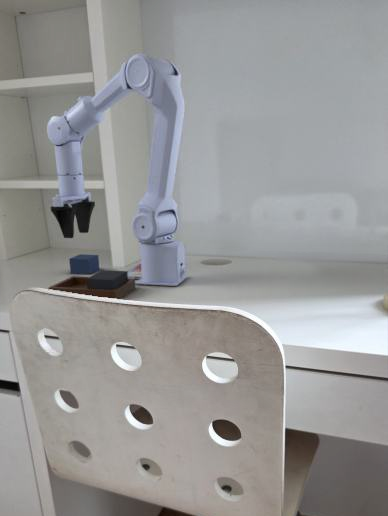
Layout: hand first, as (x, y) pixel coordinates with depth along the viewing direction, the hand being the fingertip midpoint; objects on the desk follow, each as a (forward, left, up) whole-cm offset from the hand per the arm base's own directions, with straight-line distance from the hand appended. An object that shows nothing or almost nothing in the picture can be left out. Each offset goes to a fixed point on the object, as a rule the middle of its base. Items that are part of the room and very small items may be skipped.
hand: (76, 235), depth 124 cm
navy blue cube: (-1, -1, -9) cm, 9 cm away
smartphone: (-16, -3, -9) cm, 19 cm away
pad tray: (-12, +17, -9) cm, 23 cm away
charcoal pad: (-15, +17, -8) cm, 25 cm away
